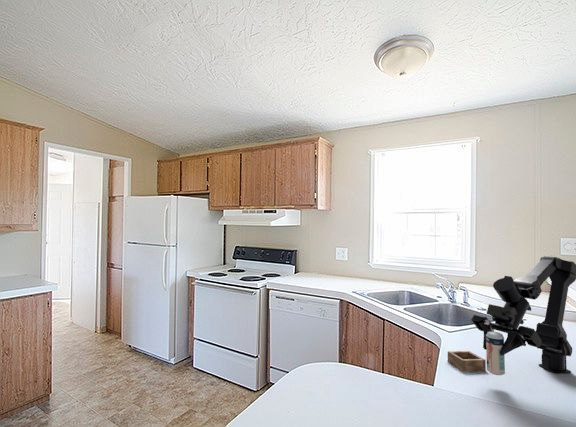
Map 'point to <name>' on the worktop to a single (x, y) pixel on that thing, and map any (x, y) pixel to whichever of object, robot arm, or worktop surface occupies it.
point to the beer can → (495, 353)
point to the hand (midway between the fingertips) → (492, 351)
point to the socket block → (466, 361)
